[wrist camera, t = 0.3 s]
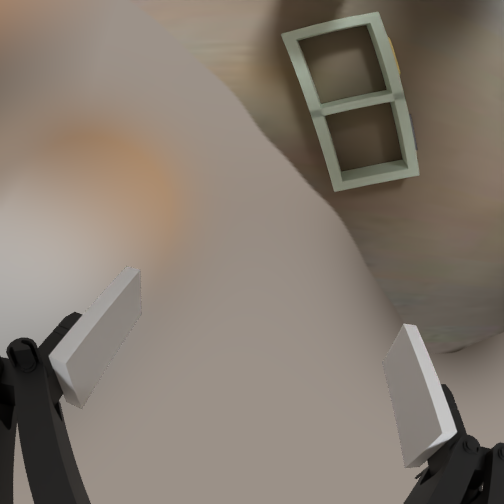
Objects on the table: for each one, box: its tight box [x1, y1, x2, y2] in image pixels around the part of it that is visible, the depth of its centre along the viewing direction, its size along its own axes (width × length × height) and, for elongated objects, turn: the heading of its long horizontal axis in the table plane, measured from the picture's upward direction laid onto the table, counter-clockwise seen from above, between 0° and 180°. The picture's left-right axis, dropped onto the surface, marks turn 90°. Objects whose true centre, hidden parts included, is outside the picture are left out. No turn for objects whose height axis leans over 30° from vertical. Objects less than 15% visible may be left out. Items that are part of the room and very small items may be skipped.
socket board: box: [281, 12, 419, 192], centre depth 28 cm, size 10×18×3 cm, turn 21°
